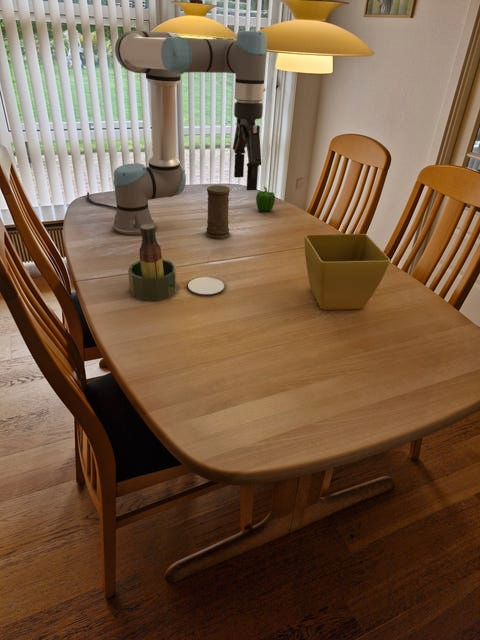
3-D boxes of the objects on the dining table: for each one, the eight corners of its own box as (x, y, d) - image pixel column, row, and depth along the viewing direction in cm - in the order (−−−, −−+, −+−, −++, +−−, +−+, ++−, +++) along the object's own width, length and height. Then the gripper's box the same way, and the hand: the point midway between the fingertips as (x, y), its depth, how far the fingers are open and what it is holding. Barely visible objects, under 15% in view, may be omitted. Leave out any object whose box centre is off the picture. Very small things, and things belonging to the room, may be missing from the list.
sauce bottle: (160, 283, 134) (156, 220, 123) (168, 292, 129) (164, 227, 119) (139, 287, 131) (134, 223, 120) (146, 296, 127) (141, 231, 116)
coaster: (180, 289, 131) (180, 287, 131) (200, 275, 139) (200, 273, 139) (211, 299, 127) (211, 297, 127) (230, 284, 135) (230, 283, 135)
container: (229, 239, 165) (230, 192, 156) (205, 238, 165) (205, 190, 155) (229, 231, 173) (231, 185, 163) (207, 230, 173) (207, 183, 163)
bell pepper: (273, 214, 192) (275, 191, 187) (254, 212, 193) (256, 189, 187) (274, 208, 199) (276, 186, 194) (256, 206, 200) (258, 184, 195)
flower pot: (312, 317, 121) (321, 261, 112) (297, 284, 137) (303, 233, 128) (378, 315, 124) (392, 260, 115) (355, 283, 140) (366, 233, 131)
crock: (121, 292, 128) (118, 271, 124) (150, 275, 138) (148, 255, 134) (157, 305, 123) (156, 283, 119) (185, 286, 133) (184, 265, 129)
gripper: (278, 108, 106) (271, 195, 117) (249, 96, 126) (245, 171, 138) (248, 107, 104) (244, 196, 116) (223, 95, 124) (222, 172, 136)
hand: (244, 183), depth 127 cm, fingers open, 13 cm apart
